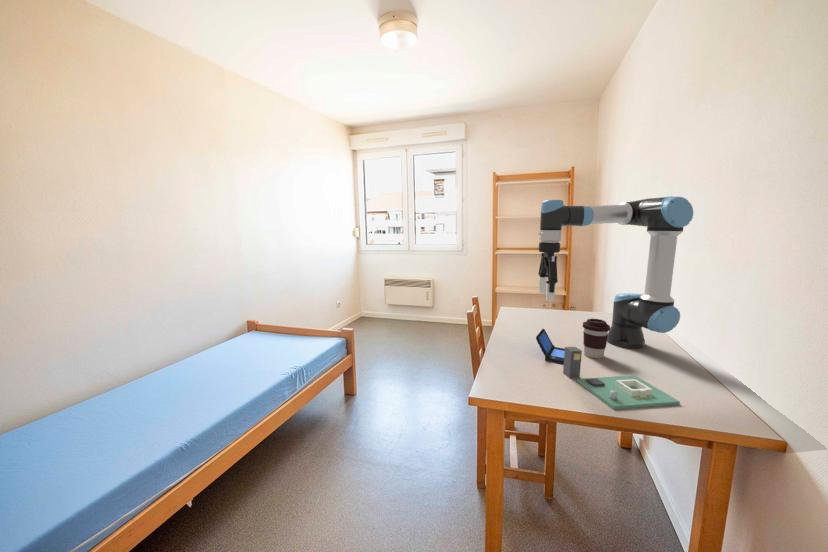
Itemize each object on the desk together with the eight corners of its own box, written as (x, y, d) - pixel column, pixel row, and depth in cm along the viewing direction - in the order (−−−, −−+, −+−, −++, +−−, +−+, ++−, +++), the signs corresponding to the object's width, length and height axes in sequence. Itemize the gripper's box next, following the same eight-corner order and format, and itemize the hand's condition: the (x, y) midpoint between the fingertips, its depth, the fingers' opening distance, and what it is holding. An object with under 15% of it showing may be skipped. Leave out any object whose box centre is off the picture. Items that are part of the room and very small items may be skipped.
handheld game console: (569, 366, 131) (571, 343, 130) (533, 359, 138) (535, 337, 136) (574, 353, 144) (576, 332, 143) (541, 347, 151) (543, 327, 150)
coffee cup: (606, 353, 143) (609, 319, 141) (608, 361, 134) (611, 325, 132) (580, 349, 147) (582, 316, 145) (580, 357, 139) (583, 322, 136)
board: (634, 377, 121) (635, 368, 120) (679, 404, 103) (680, 394, 102) (576, 381, 118) (577, 372, 117) (613, 409, 100) (614, 398, 100)
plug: (573, 372, 125) (575, 346, 123) (581, 378, 120) (583, 351, 119) (563, 373, 125) (564, 347, 123) (570, 378, 120) (572, 352, 118)
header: (634, 384, 113) (635, 379, 113) (653, 396, 106) (653, 390, 106) (615, 386, 112) (615, 380, 112) (632, 397, 105) (633, 391, 105)
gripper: (533, 240, 140) (530, 290, 143) (546, 243, 116) (542, 303, 119) (552, 240, 139) (548, 290, 142) (570, 243, 114) (565, 304, 118)
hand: (545, 296), depth 130 cm, fingers open, 13 cm apart
